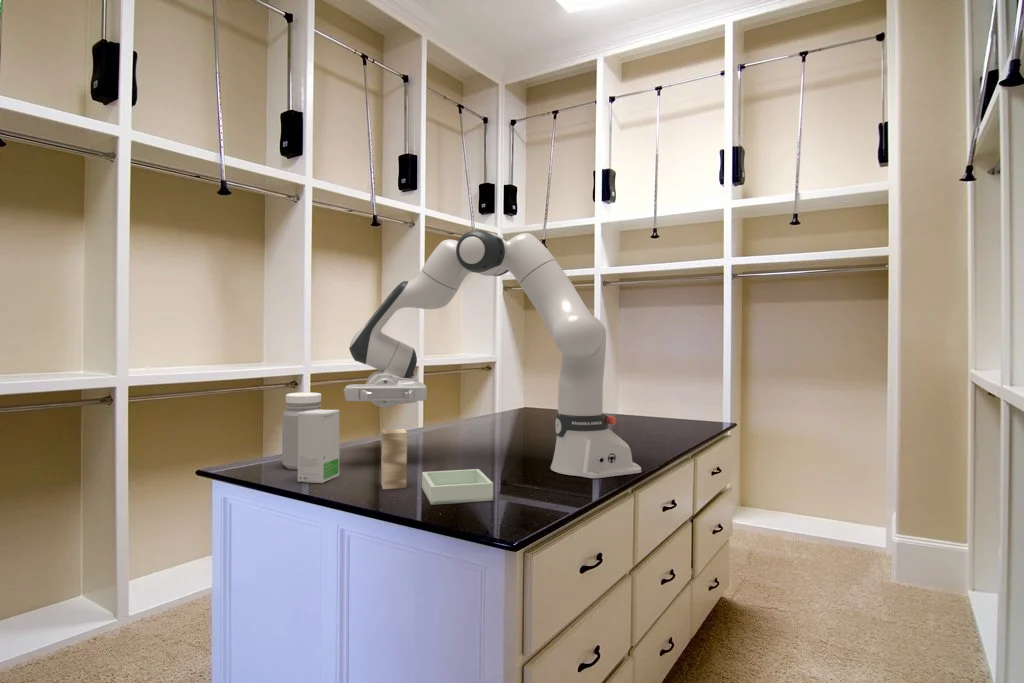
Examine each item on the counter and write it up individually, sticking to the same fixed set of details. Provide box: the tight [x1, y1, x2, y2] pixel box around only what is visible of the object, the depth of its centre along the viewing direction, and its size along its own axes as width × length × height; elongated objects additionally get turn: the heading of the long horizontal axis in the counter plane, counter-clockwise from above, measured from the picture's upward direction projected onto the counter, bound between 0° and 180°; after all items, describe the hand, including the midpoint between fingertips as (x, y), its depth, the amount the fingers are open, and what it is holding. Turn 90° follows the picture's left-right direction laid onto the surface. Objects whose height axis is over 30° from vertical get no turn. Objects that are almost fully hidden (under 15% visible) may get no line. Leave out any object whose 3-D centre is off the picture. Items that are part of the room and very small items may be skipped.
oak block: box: [380, 428, 408, 490], centre depth 128 cm, size 5×5×12 cm
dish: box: [421, 468, 494, 506], centre depth 122 cm, size 13×13×4 cm
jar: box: [281, 391, 323, 471], centre depth 145 cm, size 10×10×18 cm
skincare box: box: [297, 409, 340, 484], centre depth 133 cm, size 8×7×16 cm
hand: (388, 396), depth 140 cm, fingers open, 8 cm apart
